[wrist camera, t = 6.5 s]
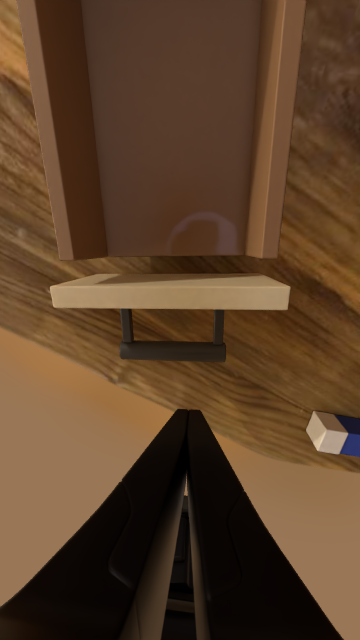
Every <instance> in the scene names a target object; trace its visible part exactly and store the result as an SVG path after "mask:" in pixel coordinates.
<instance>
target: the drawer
mask: <svg viewBox="0 0 360 640" xmlns="http://www.w3.org/2000/svg"><path fill="white" fill-rule="evenodd" d="M16 2H17V8H18V14H19V20H20V26H21V32H22V38H23V44H24V50H25V56H26V62H27V67H28V73H29V79H30V85H31V91H32V97H33V103H34V109H35V115H36V121H37V127H38V133H39V138H40V144H41V150H42V156H43V162H44V168H45V174H46V180H47V186H48V192H49V198H50V204H51V209H52V215H53V221H54V227H55V233H56V239H57V245H58V251H59V257H60V260H61V261H75V260H84V259H93V258H103V257H146V256H237V255H246V256H251V257H256V258H261V259H276V258H278V251H279V242H280V233H281V224H282V215H283V206H284V198H285V189H286V180H287V171H288V162H289V153H290V144H291V136H292V127H293V118H294V109H295V100H296V91H297V82H298V73H299V65H300V56H301V47H302V38H303V29H304V20H305V11H306V2H307V0H16ZM50 290H51V295H52V300H53V306H54V308H119V309H120V314H121V324H122V334H123V341H122V342H121V344H120V350H119V353H120V357H121V359H132V360H165V361H199V362H225V360H226V345H225V343H224V342H223V328H224V310H287V309H288V303H289V295H290V286H287V285H285V284H283V283H281V282H279V281H276V280H274V279H272V278H270V277H268V276H265V275H263V274H261V273H237V274H96V275H92V276H88V277H84V278H80V279H77V280H73V281H69V282H65V283H61V284H58V285H54V286H51V287H50ZM131 309H214V326H213V342H180V341H136V340H134V335H133V323H132V311H131Z"/></svg>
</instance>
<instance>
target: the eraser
mask: <svg viewBox="0 0 360 640" xmlns="http://www.w3.org/2000/svg"><path fill="white" fill-rule="evenodd" d="M306 431H307V433H308V435H309V437H310V438H311V440H312V442H313V444H314V445H315V447H316V449H317V450H318V451H321V452H327V453H333V454H339V453H340V454H346V455H351V456H357V457H360V419H357V418H351V417H345V416H339V415H333V414H329V413H324V412H318V411H313V414H312V416H311V419H310V421H309V424H308V427H307V429H306Z"/></svg>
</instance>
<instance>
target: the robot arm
mask: <svg viewBox="0 0 360 640" xmlns="http://www.w3.org/2000/svg"><path fill="white" fill-rule="evenodd" d="M186 476H187V491H188V507H189V512H181V510H182V504H183V498H184V491H185V484H186ZM0 640H344V639H343V638H342V637H341V636H340V634H339V633H338V632H337V631H336V629H335V628H334V626H333V625H332V623H331V622H330V621H329V619H328V618H327V617H326V615H325V613H324V612H323V611H322V609H321V608H320V606H319V605H318V603H317V602H316V600H315V599H314V597H313V596H312V595H311V593H310V592H309V590H308V589H307V587H306V586H305V584H304V583H303V581H302V580H301V579H300V577H299V576H298V574H297V573H296V571H295V570H294V568H293V567H292V565H291V564H290V563H289V561H288V560H287V558H286V557H285V555H284V554H283V552H282V551H281V550H280V548H279V546H278V545H277V543H276V542H275V540H274V539H273V537H272V536H271V534H270V533H269V531H268V530H267V528H266V527H265V525H264V523H263V522H262V520H261V518H260V517H259V515H258V513H257V512H256V510H255V508H254V506H253V505H252V503H251V501H250V499H249V497H248V496H247V494H246V492H245V491H244V489H243V487H242V485H241V483H240V481H239V479H238V478H237V476H236V474H235V472H234V470H233V469H232V467H231V465H230V463H229V461H228V460H227V458H226V456H225V454H224V452H223V450H222V449H221V447H220V445H219V443H218V441H217V439H216V438H215V436H214V434H213V432H212V430H211V429H210V427H209V425H208V423H207V421H206V419H205V418H204V416H203V414H202V412H201V411H200V410H192V409H191V410H189V411H188V409H177V410H176V411H175V413H174V414H173V416H172V417H171V418H170V419H169V420H168V422H167V423H166V424H165V426H164V427H163V428H162V429H161V430H160V432H159V433H158V434H157V436H156V437H155V438H154V439H153V441H152V442H151V443H150V444H149V446H148V447H147V448H146V449H145V451H144V452H143V453H142V455H141V456H140V457H139V459H138V460H137V461H136V462H135V463H134V465H133V466H132V467H131V469H130V470H129V471H128V472H127V474H126V475H125V476H124V477H123V479H122V482H119V483H118V485H117V486H116V487H115V489H114V490H113V491H112V493H111V494H110V495H109V496H108V497H107V499H106V500H105V501H104V502H103V503H102V504H101V506H100V507H99V508H98V509H97V510H96V511H95V513H94V514H93V515H92V516H91V517H90V518H89V519H88V520H87V521H86V522H85V523H84V524H83V526H82V527H81V528H80V529H79V530H78V531H77V532H76V533H75V534H74V535H73V536H72V537H71V538H70V539H69V540H68V541H67V542H66V544H65V545H64V546H63V547H62V548H61V549H60V550H59V551H58V552H57V553H56V554H55V555H54V556H53V557H52V558H51V559H50V560H49V561H48V562H47V563H46V565H44V567H43V568H42V569H41V570H40V571H39V572H38V573H37V574H36V575H35V576H34V577H33V578H32V579H31V580H30V581H29V582H28V583H27V584H26V585H25V586H24V587H23V588H22V589H21V590H20V591H19V592H18V593H16V594H15V595H14V596H13V597H12V598H11V599H10V600H8V602H6V603H5V604H3V605H2V606H1V607H0Z"/></svg>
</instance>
